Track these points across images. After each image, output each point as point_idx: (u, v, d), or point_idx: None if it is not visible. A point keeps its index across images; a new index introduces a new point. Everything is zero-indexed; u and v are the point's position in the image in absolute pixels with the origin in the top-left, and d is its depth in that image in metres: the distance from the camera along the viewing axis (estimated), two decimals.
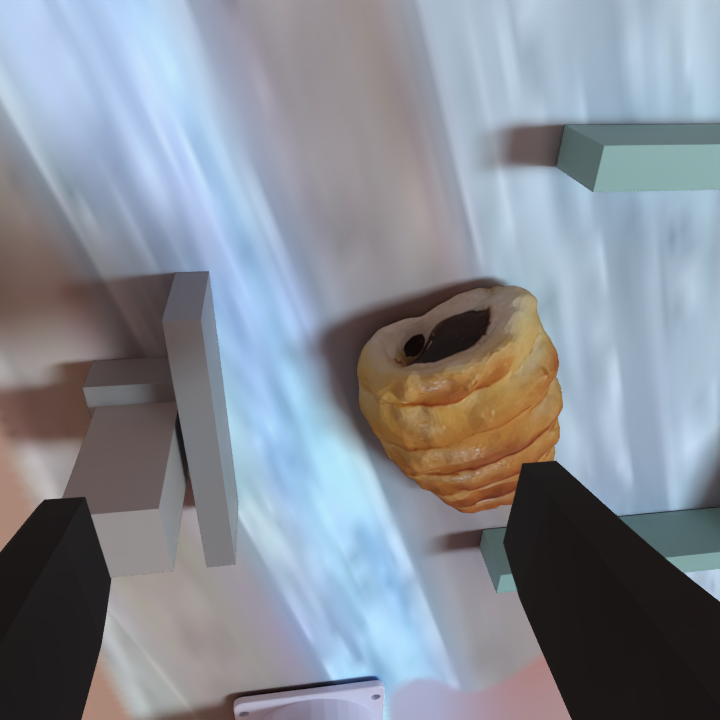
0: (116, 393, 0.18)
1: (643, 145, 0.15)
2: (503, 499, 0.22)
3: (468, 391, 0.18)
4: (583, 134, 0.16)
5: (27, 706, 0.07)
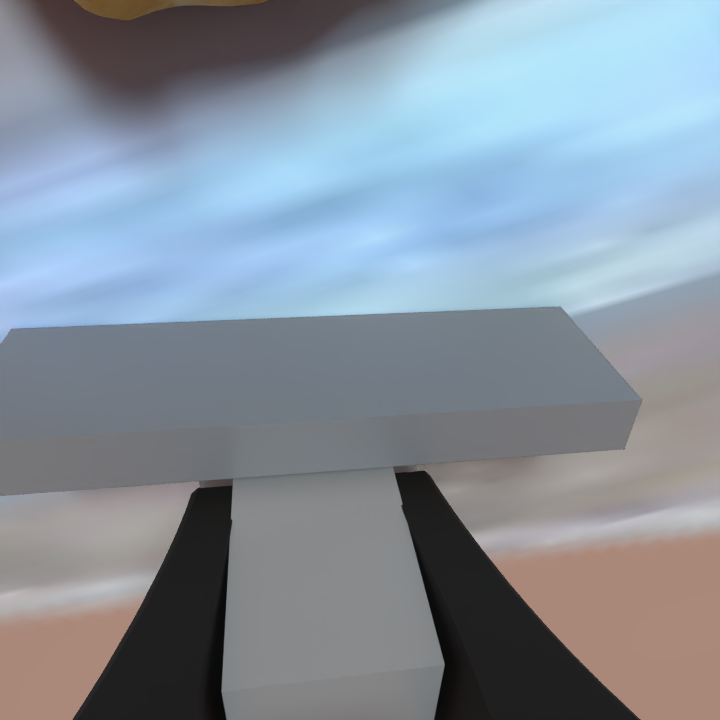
0: None
1: None
2: None
3: None
4: None
5: (219, 683, 0.07)
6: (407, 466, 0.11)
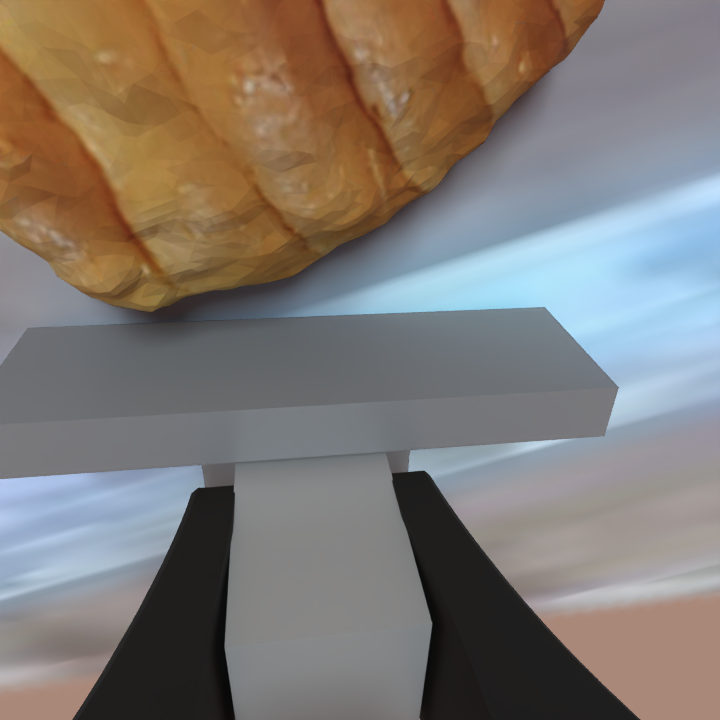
0: None
1: None
2: None
3: (27, 160, 0.07)
4: None
5: (219, 683, 0.07)
6: (401, 458, 0.12)
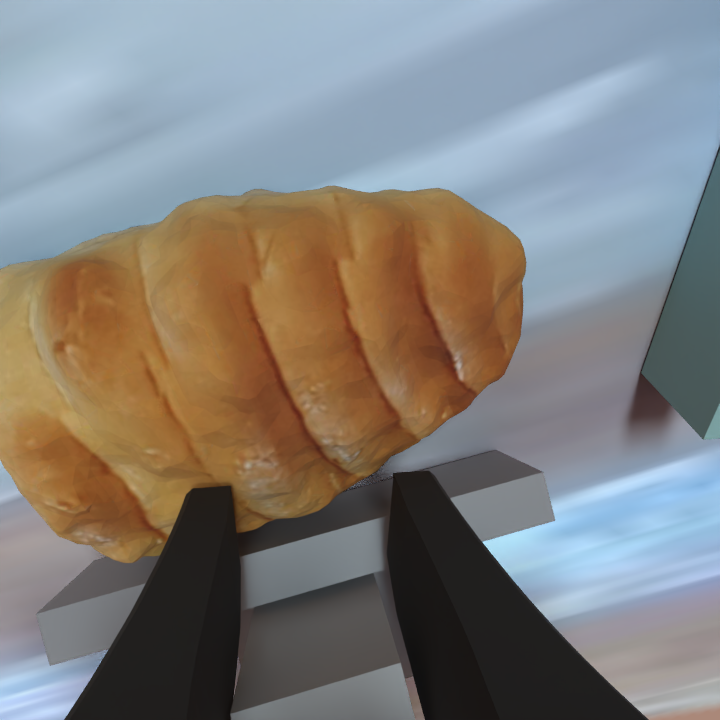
0: None
1: None
2: (461, 336, 0.10)
3: (88, 507, 0.09)
4: None
5: (212, 684, 0.07)
6: None
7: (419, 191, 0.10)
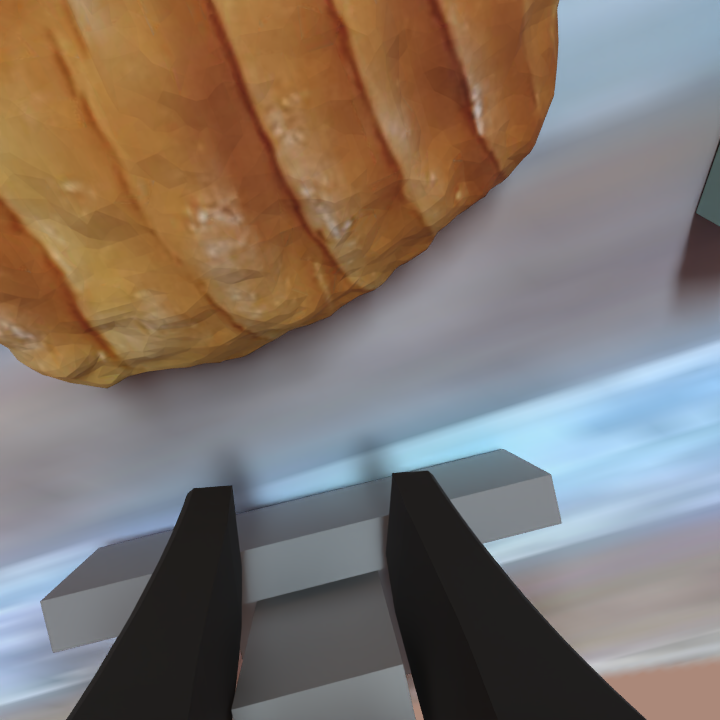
0: None
1: None
2: (481, 55, 0.08)
3: None
4: None
5: (214, 684, 0.07)
6: None
7: None
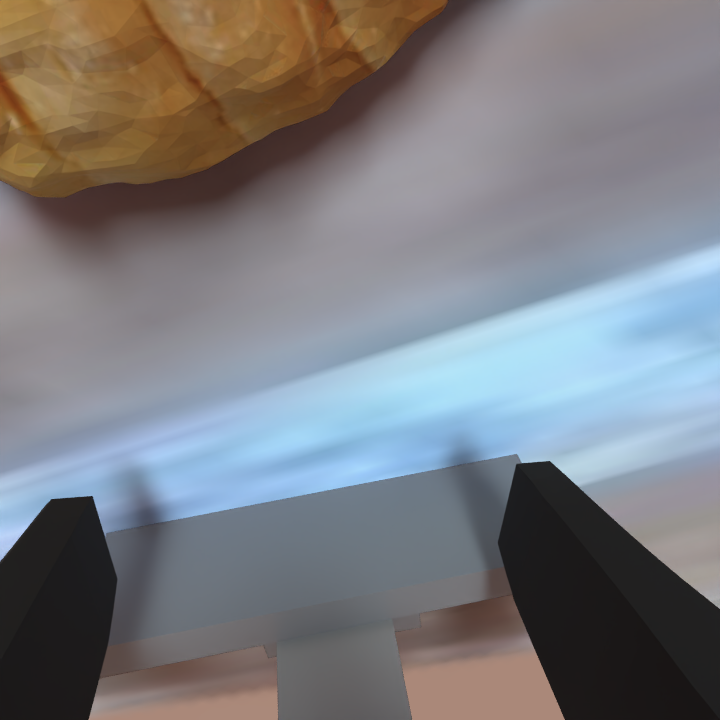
0: None
1: None
2: None
3: None
4: None
5: (36, 705, 0.07)
6: None
7: None
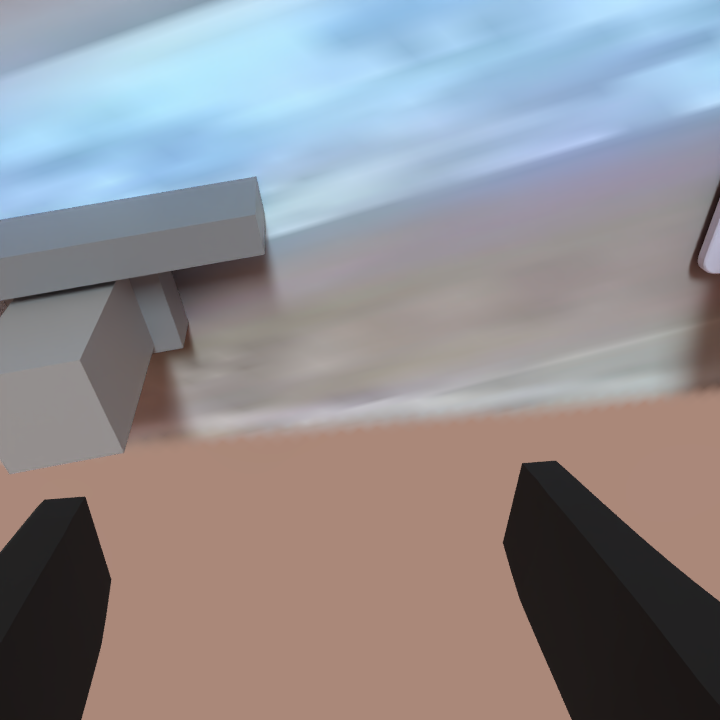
0: None
1: None
2: None
3: None
4: None
5: (27, 706, 0.07)
6: (161, 302, 0.16)
7: None
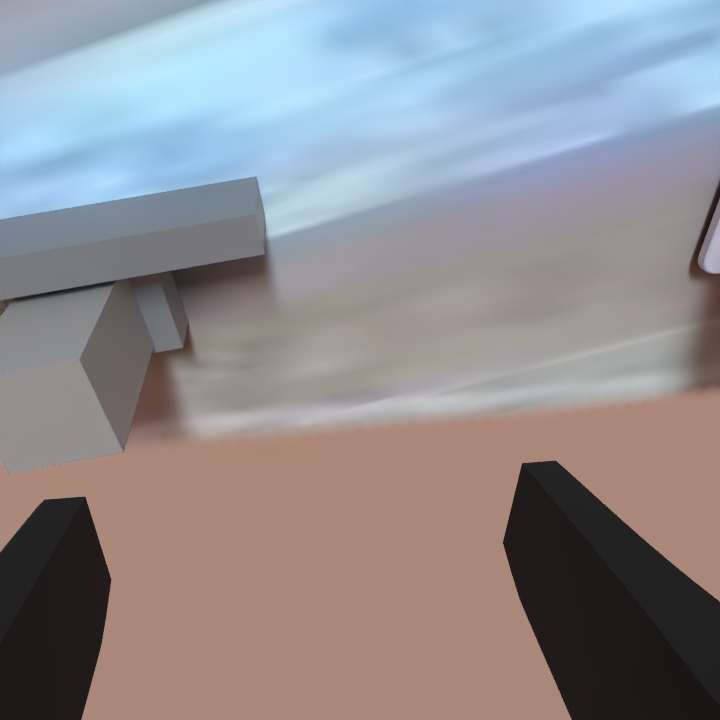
0: None
1: None
2: None
3: None
4: None
5: (27, 706, 0.07)
6: (161, 302, 0.16)
7: None
